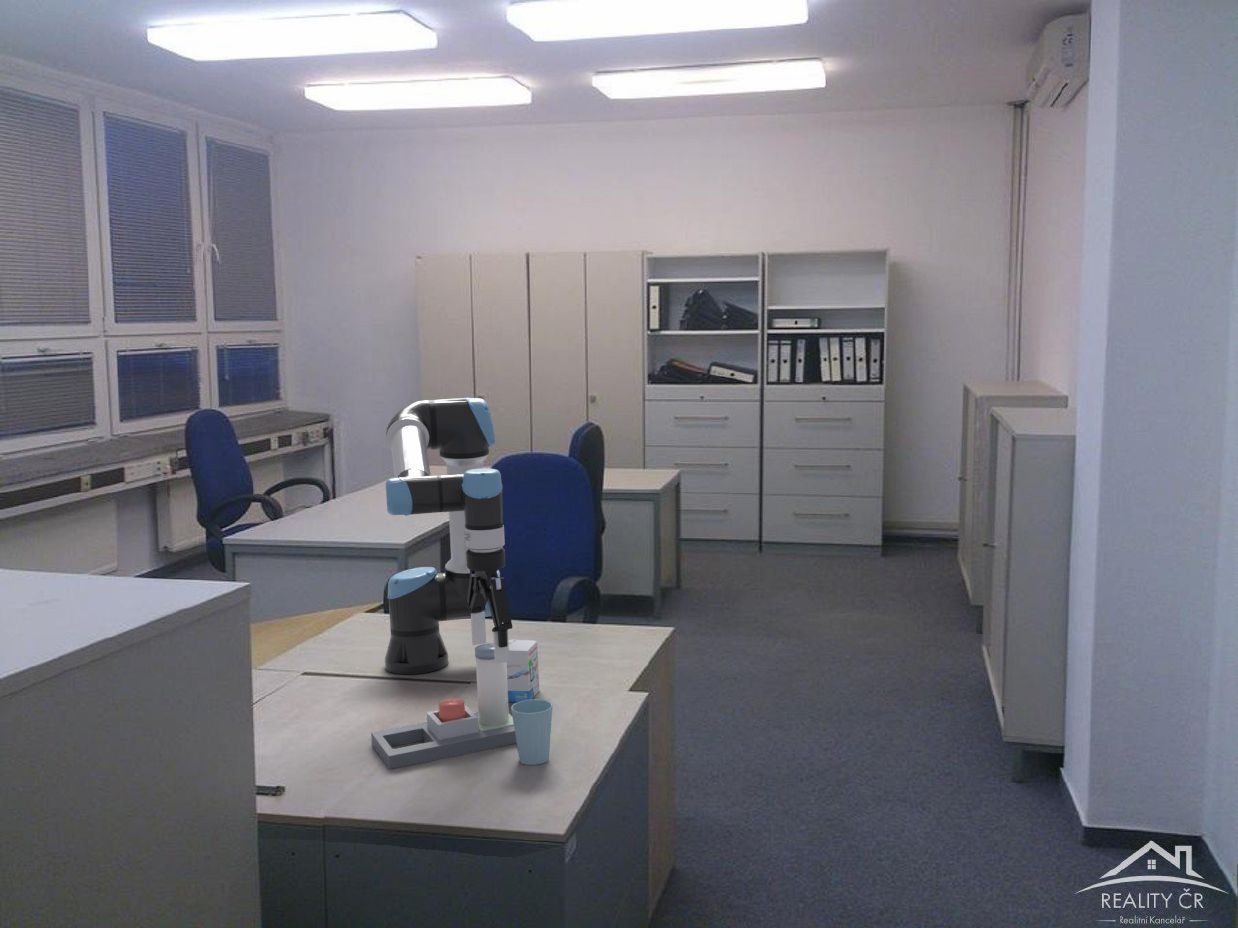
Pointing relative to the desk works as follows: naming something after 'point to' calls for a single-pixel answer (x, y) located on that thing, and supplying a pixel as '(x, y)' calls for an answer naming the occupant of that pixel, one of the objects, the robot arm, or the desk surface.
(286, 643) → the desk surface
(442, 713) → the plunger
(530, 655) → the ink box
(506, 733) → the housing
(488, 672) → the cartridge
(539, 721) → the cup
